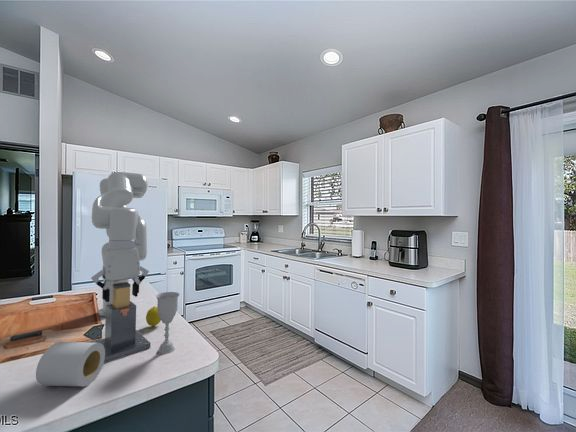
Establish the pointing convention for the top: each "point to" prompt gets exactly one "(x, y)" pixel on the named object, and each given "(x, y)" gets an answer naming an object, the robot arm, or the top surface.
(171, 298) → the chalice
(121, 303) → the column
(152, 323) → the lemon
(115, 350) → the stand
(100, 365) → the toilet paper
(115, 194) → the robot arm
